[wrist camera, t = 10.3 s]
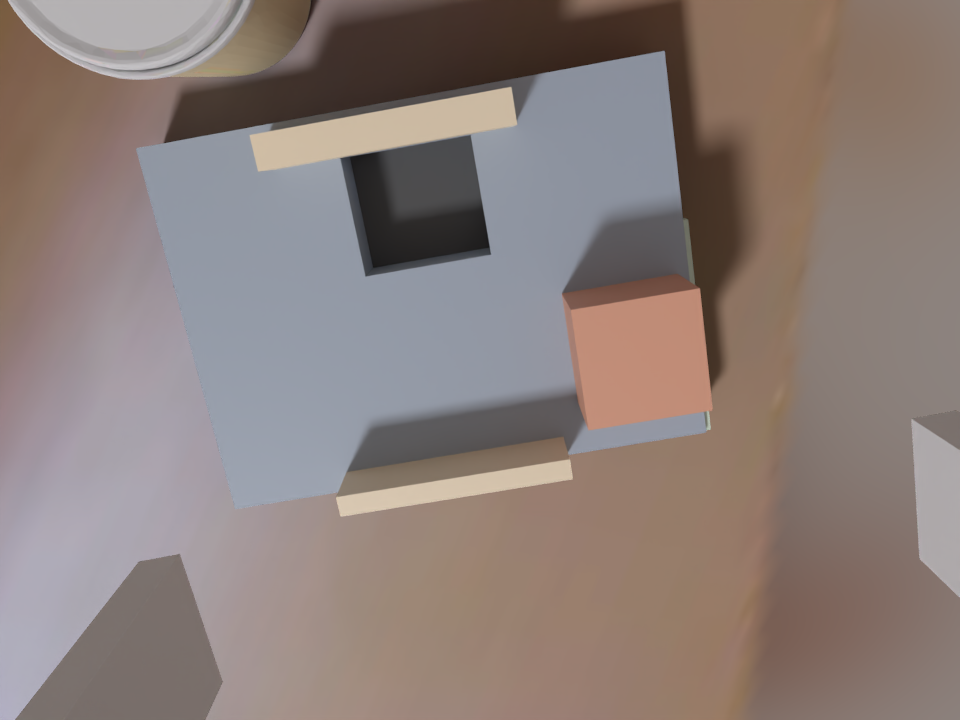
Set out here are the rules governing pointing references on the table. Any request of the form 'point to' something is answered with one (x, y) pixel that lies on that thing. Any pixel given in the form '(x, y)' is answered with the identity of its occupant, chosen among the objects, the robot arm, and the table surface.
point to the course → (417, 281)
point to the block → (638, 351)
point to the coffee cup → (167, 34)
